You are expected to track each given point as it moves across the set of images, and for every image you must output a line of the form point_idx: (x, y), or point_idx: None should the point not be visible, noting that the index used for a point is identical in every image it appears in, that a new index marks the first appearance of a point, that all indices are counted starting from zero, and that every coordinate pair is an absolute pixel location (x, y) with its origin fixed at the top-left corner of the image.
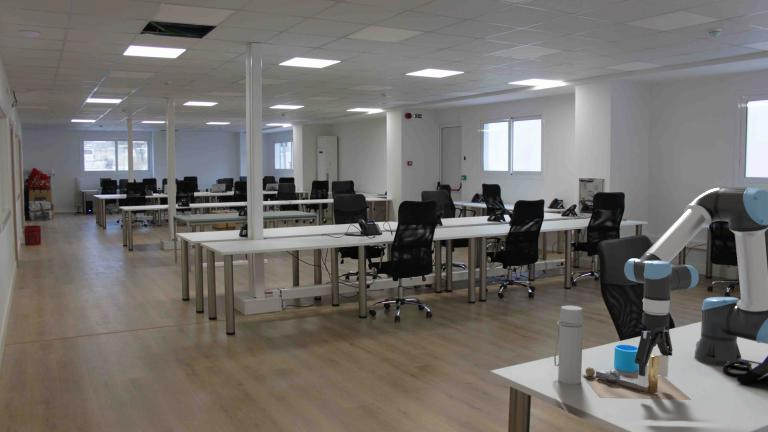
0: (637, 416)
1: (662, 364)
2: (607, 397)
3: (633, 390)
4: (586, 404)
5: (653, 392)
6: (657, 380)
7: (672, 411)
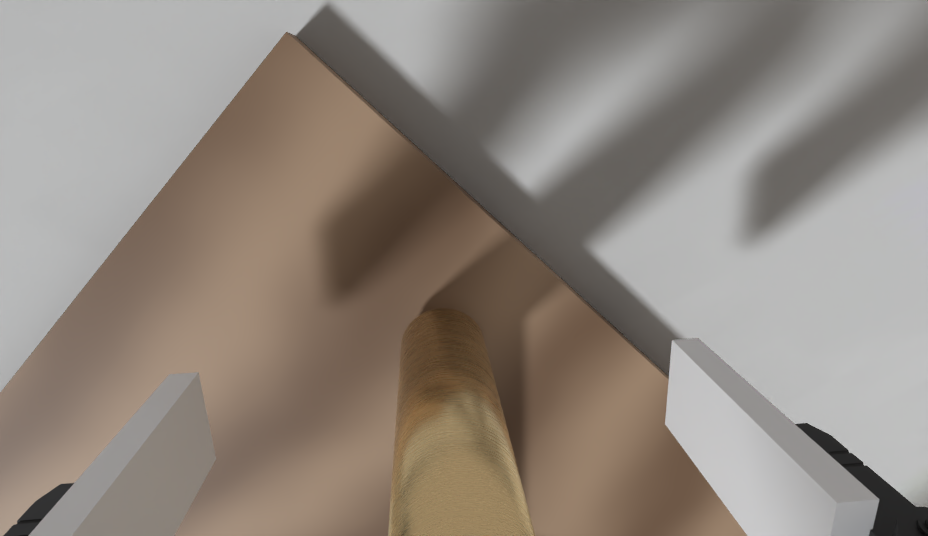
0: (912, 195)
1: (147, 517)
2: None
3: None
4: None
5: (476, 323)
6: (445, 361)
7: (620, 60)
